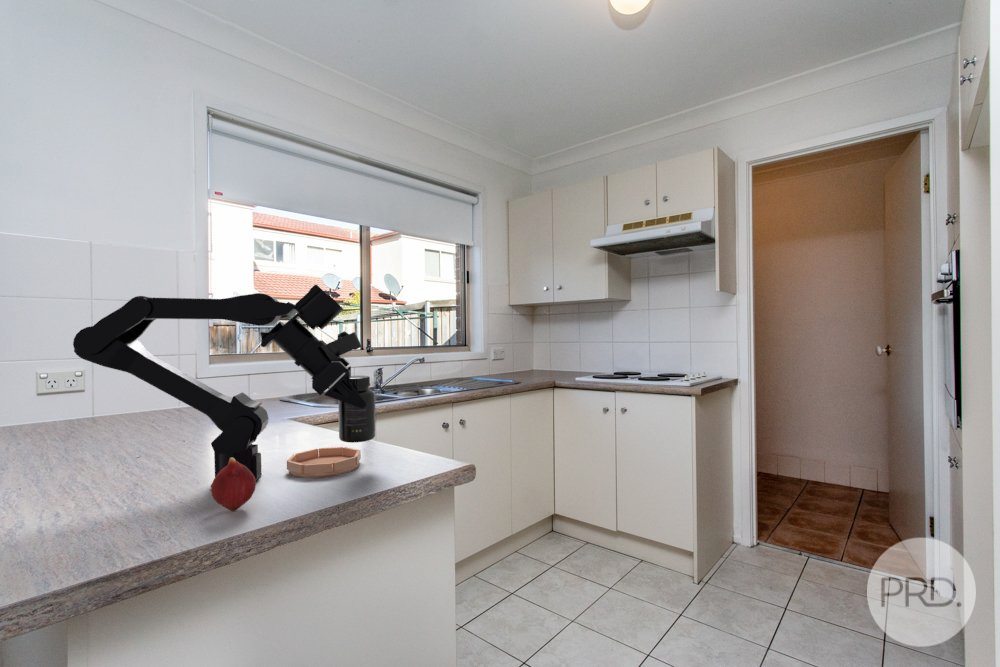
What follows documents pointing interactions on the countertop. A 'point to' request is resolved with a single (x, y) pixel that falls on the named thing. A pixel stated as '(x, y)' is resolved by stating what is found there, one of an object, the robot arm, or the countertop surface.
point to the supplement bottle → (358, 414)
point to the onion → (233, 485)
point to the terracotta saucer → (323, 462)
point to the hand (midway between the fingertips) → (364, 403)
